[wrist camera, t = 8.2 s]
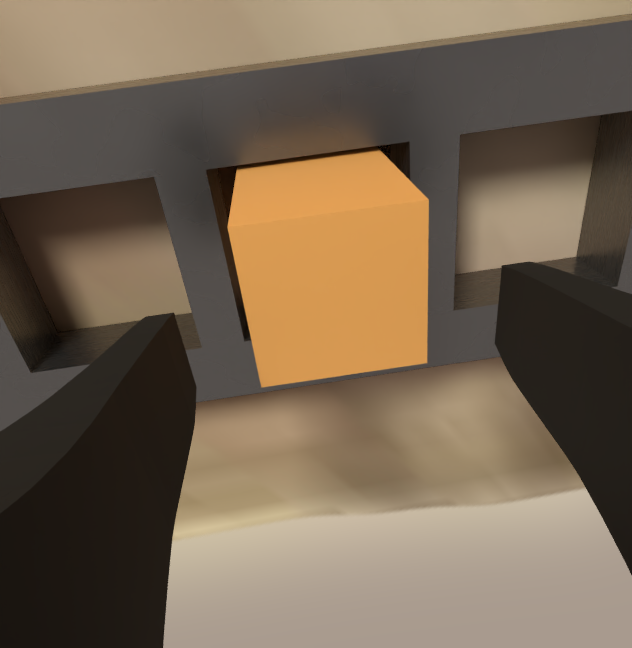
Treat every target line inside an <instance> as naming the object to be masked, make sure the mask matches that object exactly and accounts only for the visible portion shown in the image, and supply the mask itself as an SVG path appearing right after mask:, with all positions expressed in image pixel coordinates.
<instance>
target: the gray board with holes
mask: <svg viewBox="0 0 632 648" xmlns="http://www.w3.org/2000/svg"><path fill="white" fill-rule="evenodd" d="M597 115H602V117H601V122H600V128H599V134H598V139H597V145H596V150H595V156H594V162H593V167H592V173H591V179H590V184H589V190H588V196H587V201H586V207H585V213H584V218H583V224H582V230H581V235H580V241H579V247H578V252H577V257H573V258H566V259H559V260H553V261H546V262H539V263H538V264H542V265H546V266H549V267H553V268H556V269H559V270H562V271H565V272H568V273H571V274H574V275H577V276H580V277H582V278H585V279H588V280H591V281H594V282H597V283H600V284H603V285H606V286H608V287H611V288H614V289H617V290H620V291H623V292H626V293H630V294H632V14H627V15H620V16H612V17H605V18H597V19H590V20H583V21H575V22H568V23H560V24H553V25H545V26H538V27H530V28H523V29H515V30H508V31H500V32H493V33H485V34H478V35H470V36H463V37H455V38H448V39H440V40H433V41H425V42H418V43H410V44H403V45H396V46H388V47H381V48H373V49H366V50H358V51H351V52H343V53H336V54H328V55H321V56H313V57H306V58H298V59H291V60H283V61H276V62H268V63H261V64H253V65H246V66H238V67H231V68H223V69H216V70H209V71H201V72H194V73H186V74H179V75H171V76H164V77H156V78H149V79H141V80H134V81H126V82H119V83H111V84H104V85H96V86H89V87H81V88H74V89H66V90H59V91H51V92H44V93H37V94H29V95H22V96H14V97H7V98H0V198H5V197H13V196H20V195H27V194H34V193H41V192H49V191H56V190H63V189H70V188H78V187H85V186H92V185H99V184H106V183H114V182H121V181H128V180H135V179H142V178H150V177H154V179H155V183H156V186H157V190H158V193H159V197H160V200H161V204H162V207H163V211H164V215H165V218H166V222H167V225H168V229H169V232H170V236H171V239H172V243H173V246H174V250H175V254H176V257H177V261H178V264H179V268H180V271H181V275H182V278H183V282H184V286H185V289H186V293H187V296H188V300H189V303H190V307H191V310H192V313H189V314H182V315H175V318H176V321H177V324H178V328H179V331H180V334H181V337H182V341H183V344H184V347H185V351H186V354H187V357H188V360H189V364H190V367H191V370H192V374H193V377H194V380H195V383H196V387H197V390H196V402H202V401H209V400H215V399H222V398H229V397H235V396H242V395H248V394H255V393H262V392H268V391H275V390H282V389H288V388H295V387H302V386H308V385H315V384H322V383H328V382H335V381H342V380H348V379H355V378H361V377H368V376H375V375H381V374H388V373H395V372H401V371H408V370H415V369H421V368H428V367H435V366H441V365H448V364H455V363H461V362H468V361H475V360H481V359H488V358H494V357H501V356H500V354H499V352H498V349H497V347H496V345H495V334H496V323H497V312H498V301H499V291H500V280H501V269H502V268H498V269H491V270H484V271H477V272H470V273H463V274H457V275H455V256H456V229H457V203H458V176H459V150H460V134H467V133H474V132H481V131H488V130H496V129H503V128H510V127H517V126H525V125H532V124H539V123H546V122H553V121H561V120H568V119H575V118H582V117H589V116H597ZM388 144H390V161H391V162H392V163H393V164H394V165H395V166H396V167H397V168H398V169H399V170H400V171H401V172H402V173H403V174H404V175H405V176H406V177H407V178H408V179H409V180H410V181H411V182H412V183H413V184H414V185H415V186H416V187H417V188H418V189H419V190H420V191H421V192H422V193H423V194H424V195H425V196H426V197H427V198H428V199H429V235H428V330H427V363H424V364H417V365H411V366H404V367H397V368H390V369H384V370H377V371H370V372H363V373H357V374H350V375H343V376H336V377H329V378H323V379H316V380H309V381H302V382H296V383H289V384H282V385H275V386H268V387H262V388H261V383H260V379H259V374H258V369H257V365H256V360H255V355H254V350H253V346H252V341H251V336H250V331H249V327H248V322H247V317H246V313H245V308H244V303H243V298H242V294H241V289H240V284H239V280H238V275H237V270H236V265H235V261H234V256H233V251H232V247H231V242H230V237H229V232H228V228H227V227H228V218H227V213H226V208H225V204H224V199H223V194H222V190H221V185H220V180H219V176H218V171H217V168H222V167H229V166H236V165H243V164H251V163H258V162H265V161H272V160H279V159H287V158H294V157H301V156H308V155H315V154H323V153H330V152H337V151H344V150H351V149H359V148H366V147H373V146H380V145H388ZM138 322H139V321H134V322H127V323H121V324H114V325H107V326H100V327H93V328H86V329H79V330H73V331H66V332H59V333H58V332H57V330H56V328H55V326H54V324H53V321H52V319H51V317H50V315H49V313H48V310H47V308H46V306H45V304H44V302H43V300H42V297H41V295H40V293H39V291H38V289H37V286H36V284H35V282H34V280H33V278H32V275H31V273H30V271H29V269H28V267H27V265H26V262H25V260H24V258H23V256H22V254H21V251H20V249H19V247H18V245H17V243H16V240H15V238H14V236H13V234H12V232H11V230H10V227H9V225H8V223H7V221H6V219H5V216H4V214H3V212H2V210H1V208H0V431H2V430H3V429H5V428H6V427H8V426H9V425H11V424H12V423H14V422H15V421H17V420H18V419H20V418H21V417H23V416H24V415H26V414H27V413H29V412H30V411H32V410H33V409H34V408H36V407H37V406H39V405H40V404H41V403H43V402H44V401H45V400H47V399H48V398H49V397H51V396H52V395H53V394H54V393H56V392H57V391H58V390H59V389H61V388H62V387H63V386H64V385H66V384H67V383H68V382H69V381H71V380H72V379H73V378H74V377H75V376H77V375H78V374H79V373H80V372H82V371H83V370H84V369H85V368H87V367H88V366H89V365H90V364H91V363H92V362H94V361H95V360H96V359H97V358H98V357H99V356H100V355H101V354H103V353H104V352H105V351H106V350H107V349H108V348H109V347H111V346H112V345H113V344H114V343H115V342H116V341H117V340H118V339H119V338H121V337H122V336H123V335H124V334H125V333H126V332H127V331H129V330H130V329H131V328H132V327H133V326H134V325H136V324H137V323H138Z"/></svg>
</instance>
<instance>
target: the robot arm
mask: <svg viewBox="0 0 632 648" xmlns="http://www.w3.org/2000/svg"><path fill="white" fill-rule="evenodd" d="M495 345H496V347H497V349H498V352H499V354H500V356H501V358H502V360H503V362H504V364H505V366H506V368H507V370H508V372H509V374H510V376H511V378H512V379H513V381H514V382H515V384H516V385H517V387H518V388H519V390H520V391H521V393H522V394H523V395H524V397H525V398H526V400H527V401H528V403H529V404H530V405H531V407H532V408H533V410H534V411H535V412H536V414H537V415H538V417H539V418H540V419H541V421H542V422H543V424H544V425H545V427H546V428H547V429H548V431H549V432H550V434H551V435H552V436H553V438H554V439H555V441H556V442H557V443H558V445H559V446H560V448H561V449H562V450H563V452H564V453H565V455H566V456H567V458H568V459H569V461H570V462H571V464H572V465H573V467H574V468H575V470H576V471H577V473H578V475H579V476H580V478H581V480H582V482H583V484H584V485H585V487H586V489H587V491H588V492H589V494H590V496H591V498H592V500H593V502H594V503H595V505H596V507H597V509H598V510H599V512H600V514H601V516H602V518H603V520H604V522H605V524H606V526H607V527H608V529H609V531H610V533H611V535H612V537H613V539H614V541H615V543H616V545H617V547H618V549H619V551H620V553H621V554H622V556H623V558H624V560H625V562H626V564H627V566H628V568H629V570H630V573H631V575H632V294H630V293H626V292H623V291H620V290H617V289H614V288H611V287H608V286H606V285H603V284H600V283H597V282H594V281H591V280H588V279H585V278H582V277H580V276H577V275H574V274H571V273H568V272H565V271H562V270H559V269H556V268H553V267H549V266H546V265H542V264H538V263H533V262H524V263H517V264H510V265H503V266H502V269H501V280H500V291H499V301H498V312H497V323H496V334H495ZM196 390H197V387H196V383H195V380H194V377H193V374H192V370H191V367H190V364H189V360H188V357H187V354H186V351H185V347H184V344H183V341H182V337H181V334H180V331H179V328H178V324H177V321H176V318H175V314H174V313H169V314H162V315H155V316H148V317H145V318H144V319H142V320H141V321H139V322H138V323H137V324H136V325H134V326H133V327H132V328H131V329H130V330H129V331H127V332H126V333H125V334H124V335H123V336H122V337H121V338H119V339H118V340H117V341H116V342H115V343H114V344H113V345H112V346H111V347H109V348H108V349H107V350H106V351H105V352H104V353H103V354H101V355H100V356H99V357H98V358H97V359H96V360H95V361H94V362H92V363H91V364H90V365H89V366H88V367H87V368H85V369H84V370H83V371H82V372H80V373H79V374H78V375H77V376H75V377H74V378H73V379H72V380H71V381H69V382H68V383H67V384H66V385H64V386H63V387H62V388H61V389H59V390H58V391H57V392H56V393H54V394H53V395H52V396H51V397H49V398H48V399H47V400H45V401H44V402H43V403H41V404H40V405H39V406H37V407H36V408H34V409H33V410H32V411H30V412H29V413H27V414H26V415H24V416H23V417H21V418H20V419H18V420H17V421H15V422H14V423H12V424H11V425H9V426H8V427H6V428H5V429H3V430H2V431H0V648H163V639H164V624H165V613H166V600H167V586H168V575H169V565H170V555H171V544H172V536H173V530H174V524H175V517H176V512H177V508H178V503H179V498H180V493H181V489H182V484H183V479H184V474H185V470H186V465H187V460H188V455H189V450H190V446H191V441H192V436H193V430H194V424H195V410H196Z"/></svg>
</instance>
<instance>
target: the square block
mask: <svg viewBox="0 0 632 648" xmlns="http://www.w3.org/2000/svg"><path fill="white" fill-rule="evenodd" d="M227 228H228V232H229V237H230V242H231V247H232V251H233V256H234V261H235V265H236V270H237V275H238V280H239V284H240V289H241V294H242V298H243V303H244V308H245V313H246V317H247V322H248V327H249V331H250V336H251V341H252V346H253V350H254V355H255V360H256V365H257V369H258V374H259V379H260V383H261V388H262V387H268V386H275V385H282V384H289V383H296V382H302V381H309V380H316V379H323V378H329V377H336V376H343V375H350V374H357V373H363V372H370V371H377V370H384V369H390V368H397V367H404V366H411V365H417V364H424V363H427V330H428V235H429V199H428V198H427V197H426V196H425V195H424V194H423V193H422V192H421V191H420V190H419V189H418V188H417V187H416V186H415V185H414V184H413V183H412V182H411V181H410V180H409V179H408V178H407V177H406V176H405V175H404V174H403V173H402V172H401V171H400V170H399V169H398V168H397V167H396V166H395V165H394V164H393V163H392V162H391V161H390V160H389V159H388V158H387V157H386V156H385V155H384V154H383V153H382V152H381V151H380V150H379V149H378V148H377V147H376V146H373V147H366V148H359V149H351V150H344V151H337V152H330V153H323V154H315V155H308V156H301V157H294V158H287V159H279V160H272V161H265V162H258V163H251V164H243V165H237V171H236V178H235V184H234V190H233V196H232V203H231V209H230V215H229V221H228V227H227Z"/></svg>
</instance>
